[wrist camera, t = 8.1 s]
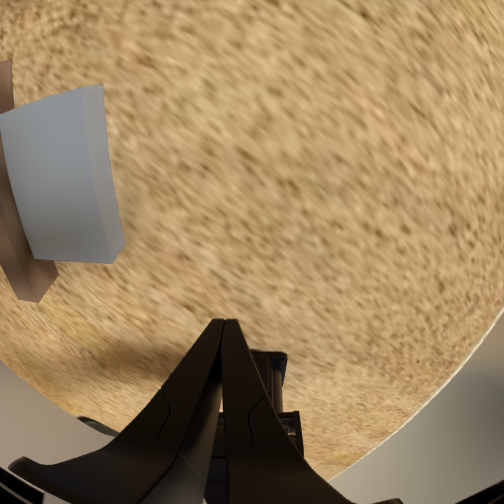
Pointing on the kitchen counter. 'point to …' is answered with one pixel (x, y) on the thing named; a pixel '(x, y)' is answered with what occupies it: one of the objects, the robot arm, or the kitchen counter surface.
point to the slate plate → (64, 176)
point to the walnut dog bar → (18, 223)
